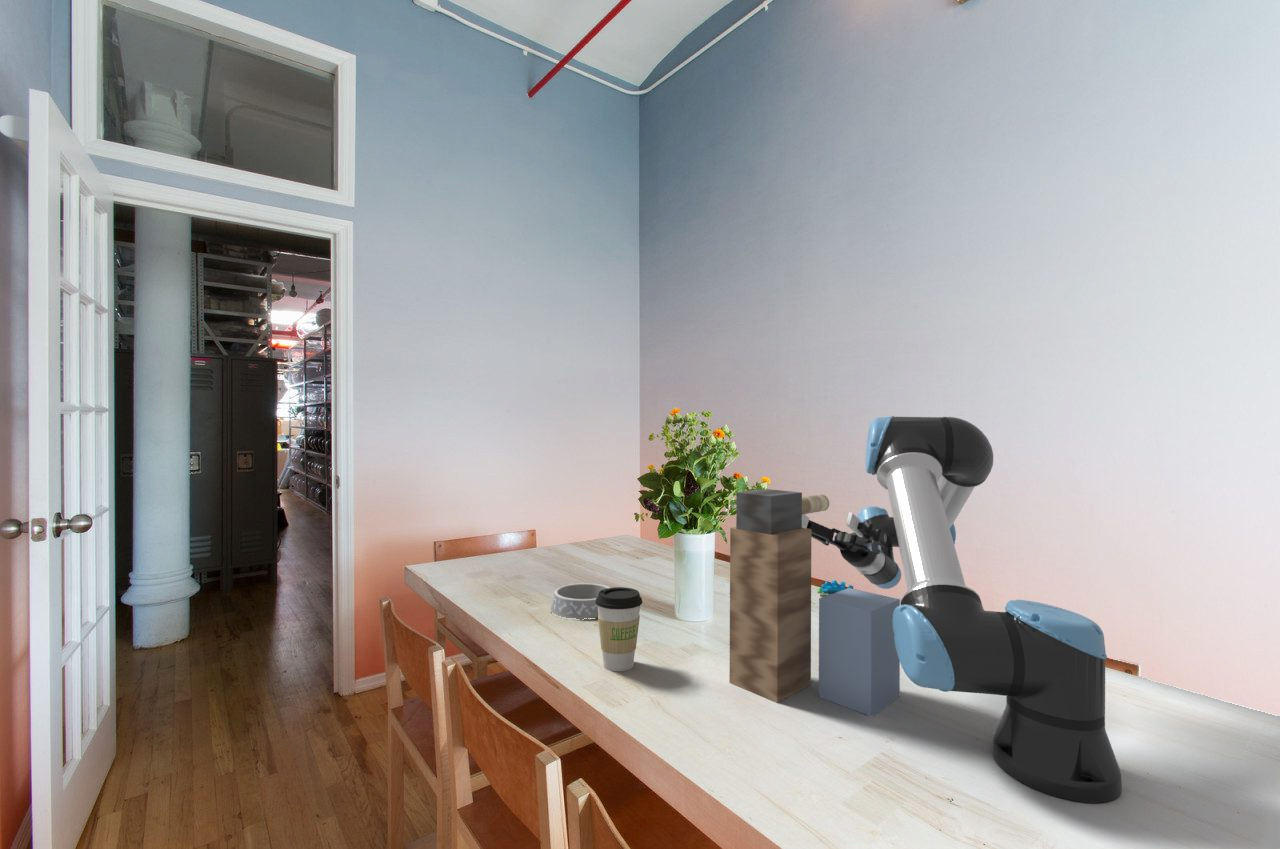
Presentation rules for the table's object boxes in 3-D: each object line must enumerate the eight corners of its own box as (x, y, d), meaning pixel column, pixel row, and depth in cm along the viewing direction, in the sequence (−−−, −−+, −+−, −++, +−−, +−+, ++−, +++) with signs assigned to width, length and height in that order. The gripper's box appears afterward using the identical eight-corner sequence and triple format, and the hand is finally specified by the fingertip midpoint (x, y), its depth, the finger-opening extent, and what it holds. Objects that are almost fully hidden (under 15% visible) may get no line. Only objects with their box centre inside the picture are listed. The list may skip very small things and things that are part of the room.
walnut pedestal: (810, 685, 111) (811, 529, 111) (777, 702, 104) (777, 535, 104) (763, 667, 119) (764, 522, 119) (729, 682, 112) (730, 527, 112)
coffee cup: (636, 677, 114) (637, 601, 114) (588, 672, 116) (589, 597, 116) (646, 657, 124) (646, 587, 124) (601, 654, 126) (602, 585, 126)
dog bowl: (629, 609, 158) (629, 589, 158) (580, 626, 145) (580, 604, 145) (586, 596, 170) (586, 578, 170) (537, 611, 156) (537, 591, 156)
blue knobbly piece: (863, 599, 163) (852, 578, 158) (860, 618, 159) (849, 597, 154) (825, 597, 169) (813, 577, 164) (821, 615, 166) (809, 595, 161)
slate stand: (899, 697, 106) (899, 599, 106) (870, 716, 99) (871, 611, 99) (848, 679, 114) (849, 587, 114) (818, 696, 106) (819, 598, 107)
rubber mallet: (839, 521, 121) (839, 488, 121) (771, 534, 105) (771, 496, 105) (805, 516, 127) (805, 485, 127) (736, 528, 111) (736, 492, 111)
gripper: (911, 578, 126) (871, 539, 114) (810, 558, 144) (766, 523, 132) (919, 546, 128) (880, 504, 116) (818, 531, 147) (776, 494, 135)
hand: (819, 514), depth 124 cm, fingers open, 13 cm apart
